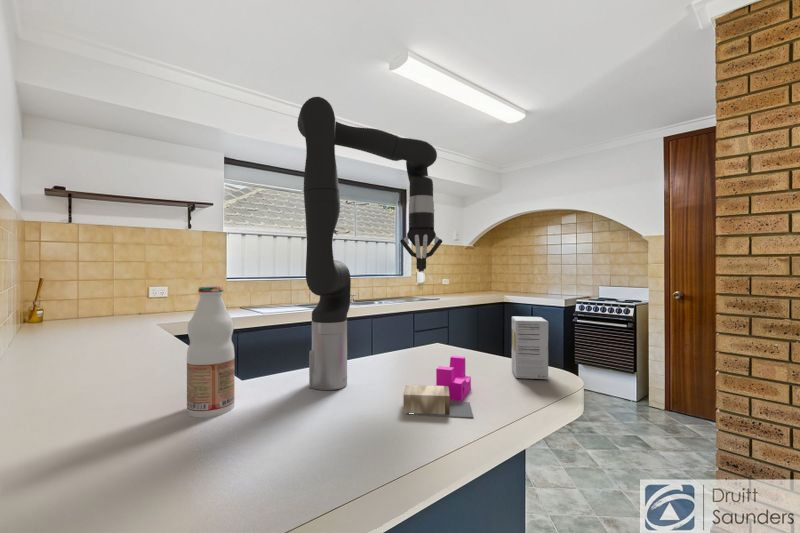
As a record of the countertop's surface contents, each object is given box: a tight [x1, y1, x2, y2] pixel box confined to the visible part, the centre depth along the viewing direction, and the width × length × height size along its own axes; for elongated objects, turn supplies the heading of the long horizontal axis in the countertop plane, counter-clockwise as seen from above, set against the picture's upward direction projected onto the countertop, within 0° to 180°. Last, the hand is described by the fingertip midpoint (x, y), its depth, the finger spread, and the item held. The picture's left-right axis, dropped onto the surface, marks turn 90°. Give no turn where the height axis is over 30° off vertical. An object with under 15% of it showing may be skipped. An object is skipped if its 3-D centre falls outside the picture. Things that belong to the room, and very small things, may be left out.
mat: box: [406, 401, 475, 419], centre depth 88 cm, size 16×9×1 cm, turn 85°
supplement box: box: [511, 315, 549, 380], centre depth 116 cm, size 10×9×17 cm
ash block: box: [402, 384, 451, 414], centre depth 88 cm, size 4×7×10 cm
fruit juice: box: [186, 286, 236, 418], centre depth 85 cm, size 9×9×28 cm
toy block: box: [435, 355, 472, 402], centre depth 101 cm, size 15×6×8 cm, turn 157°
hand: (421, 271), depth 115 cm, fingers closed
